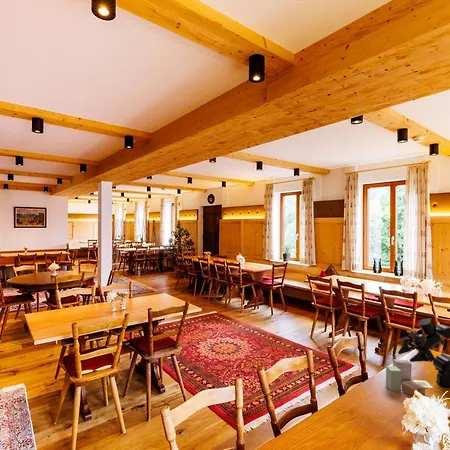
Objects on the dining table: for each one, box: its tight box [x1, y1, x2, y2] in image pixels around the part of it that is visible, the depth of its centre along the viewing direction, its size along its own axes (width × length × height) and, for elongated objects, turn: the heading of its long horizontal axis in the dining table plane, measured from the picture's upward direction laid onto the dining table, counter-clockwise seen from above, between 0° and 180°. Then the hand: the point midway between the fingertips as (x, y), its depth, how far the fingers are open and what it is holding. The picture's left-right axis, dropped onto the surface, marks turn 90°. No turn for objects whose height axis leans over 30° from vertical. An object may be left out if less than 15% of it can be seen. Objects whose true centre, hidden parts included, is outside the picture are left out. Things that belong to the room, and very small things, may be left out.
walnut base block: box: [401, 380, 426, 397], centre depth 155 cm, size 7×7×4 cm
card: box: [411, 379, 434, 389], centre depth 163 cm, size 7×7×1 cm
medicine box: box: [392, 358, 413, 380], centre depth 171 cm, size 8×4×9 cm, turn 84°
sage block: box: [385, 365, 402, 392], centre depth 159 cm, size 5×5×10 cm
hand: (404, 357), depth 161 cm, fingers open, 9 cm apart
